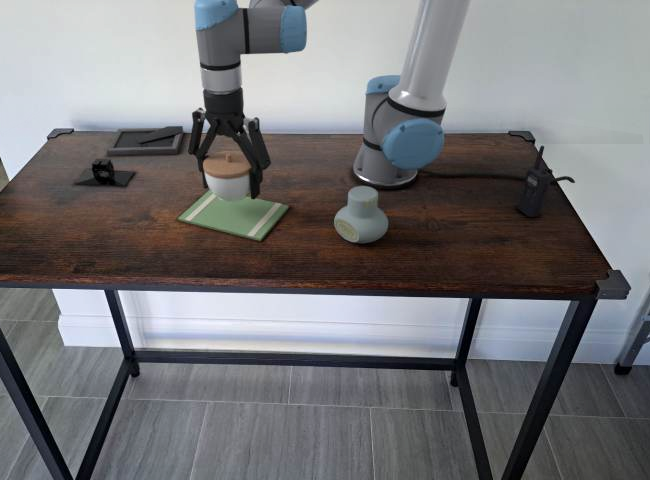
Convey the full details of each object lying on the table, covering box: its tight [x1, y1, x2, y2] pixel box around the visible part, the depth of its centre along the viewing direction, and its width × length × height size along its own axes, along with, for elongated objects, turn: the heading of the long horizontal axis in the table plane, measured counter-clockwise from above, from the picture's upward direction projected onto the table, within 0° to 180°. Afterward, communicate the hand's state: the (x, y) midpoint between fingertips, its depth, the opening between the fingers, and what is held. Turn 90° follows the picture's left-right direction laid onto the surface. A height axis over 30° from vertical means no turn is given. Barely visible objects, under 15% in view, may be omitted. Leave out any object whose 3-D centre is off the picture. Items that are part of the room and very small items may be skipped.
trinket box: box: [203, 150, 252, 202], centre depth 116 cm, size 11×11×9 cm
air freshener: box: [333, 185, 389, 244], centre depth 112 cm, size 11×8×10 cm
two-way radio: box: [517, 145, 554, 218], centre depth 116 cm, size 6×4×15 cm
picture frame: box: [106, 125, 184, 157], centre depth 150 cm, size 13×2×18 cm
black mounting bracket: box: [75, 158, 135, 188], centre depth 135 cm, size 12×7×5 cm, turn 83°
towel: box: [177, 189, 290, 242], centre depth 122 cm, size 20×14×1 cm
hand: (231, 190), depth 119 cm, fingers closed on trinket box, 11 cm apart
